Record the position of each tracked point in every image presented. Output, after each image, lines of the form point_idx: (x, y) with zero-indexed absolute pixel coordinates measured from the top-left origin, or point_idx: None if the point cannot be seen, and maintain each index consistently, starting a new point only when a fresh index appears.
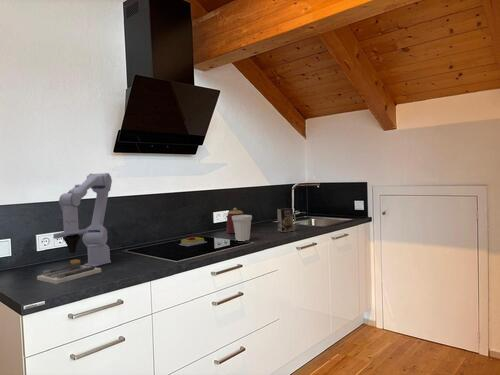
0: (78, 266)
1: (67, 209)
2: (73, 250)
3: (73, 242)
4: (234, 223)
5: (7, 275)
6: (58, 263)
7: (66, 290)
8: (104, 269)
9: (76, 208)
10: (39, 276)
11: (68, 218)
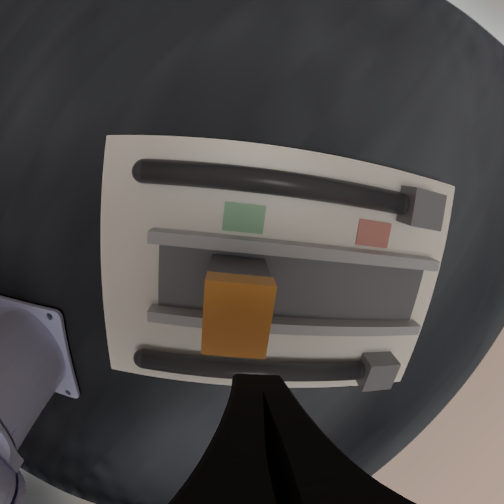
0: (228, 265)
1: None
2: (274, 393)
3: (324, 500)
4: None
5: None
6: (140, 492)
7: (468, 49)
8: (65, 180)
9: None
10: (405, 364)
11: None
